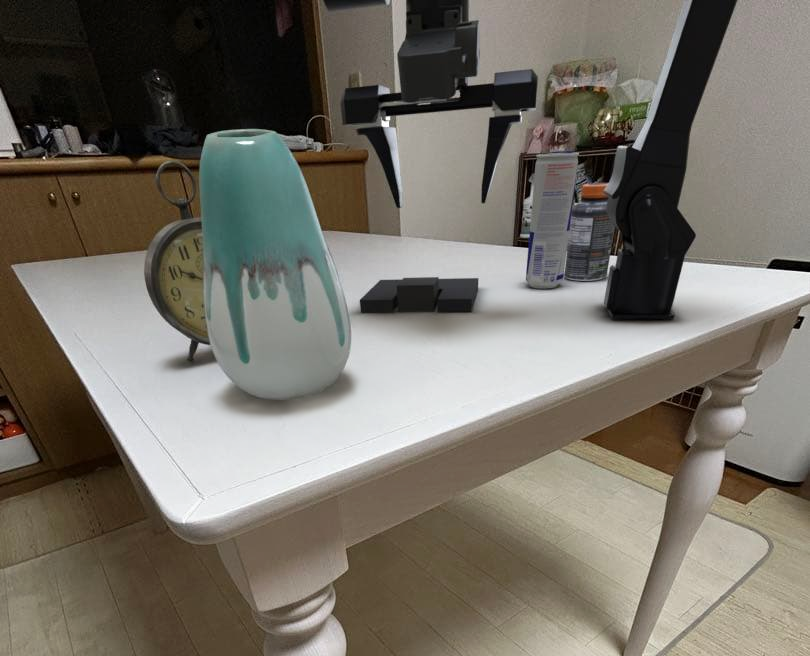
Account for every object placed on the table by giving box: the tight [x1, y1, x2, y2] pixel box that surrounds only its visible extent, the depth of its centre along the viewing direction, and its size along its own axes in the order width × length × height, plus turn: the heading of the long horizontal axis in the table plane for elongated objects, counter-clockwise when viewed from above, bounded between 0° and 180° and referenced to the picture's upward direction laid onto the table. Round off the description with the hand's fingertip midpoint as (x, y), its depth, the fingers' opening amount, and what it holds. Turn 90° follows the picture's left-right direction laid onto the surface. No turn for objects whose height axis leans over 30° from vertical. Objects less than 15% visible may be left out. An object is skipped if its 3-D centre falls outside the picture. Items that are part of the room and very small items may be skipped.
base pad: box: [359, 277, 479, 314], centre depth 68 cm, size 14×12×2 cm
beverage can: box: [525, 150, 580, 290], centre depth 67 cm, size 5×5×15 cm
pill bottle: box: [564, 182, 616, 282], centre depth 71 cm, size 6×6×11 cm
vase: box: [198, 128, 352, 401], centre depth 40 cm, size 12×12×18 cm
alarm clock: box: [143, 160, 211, 363], centre depth 49 cm, size 11×5×16 cm, turn 124°
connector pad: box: [397, 276, 440, 312], centre depth 65 cm, size 5×5×3 cm
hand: (440, 205), depth 55 cm, fingers open, 9 cm apart
